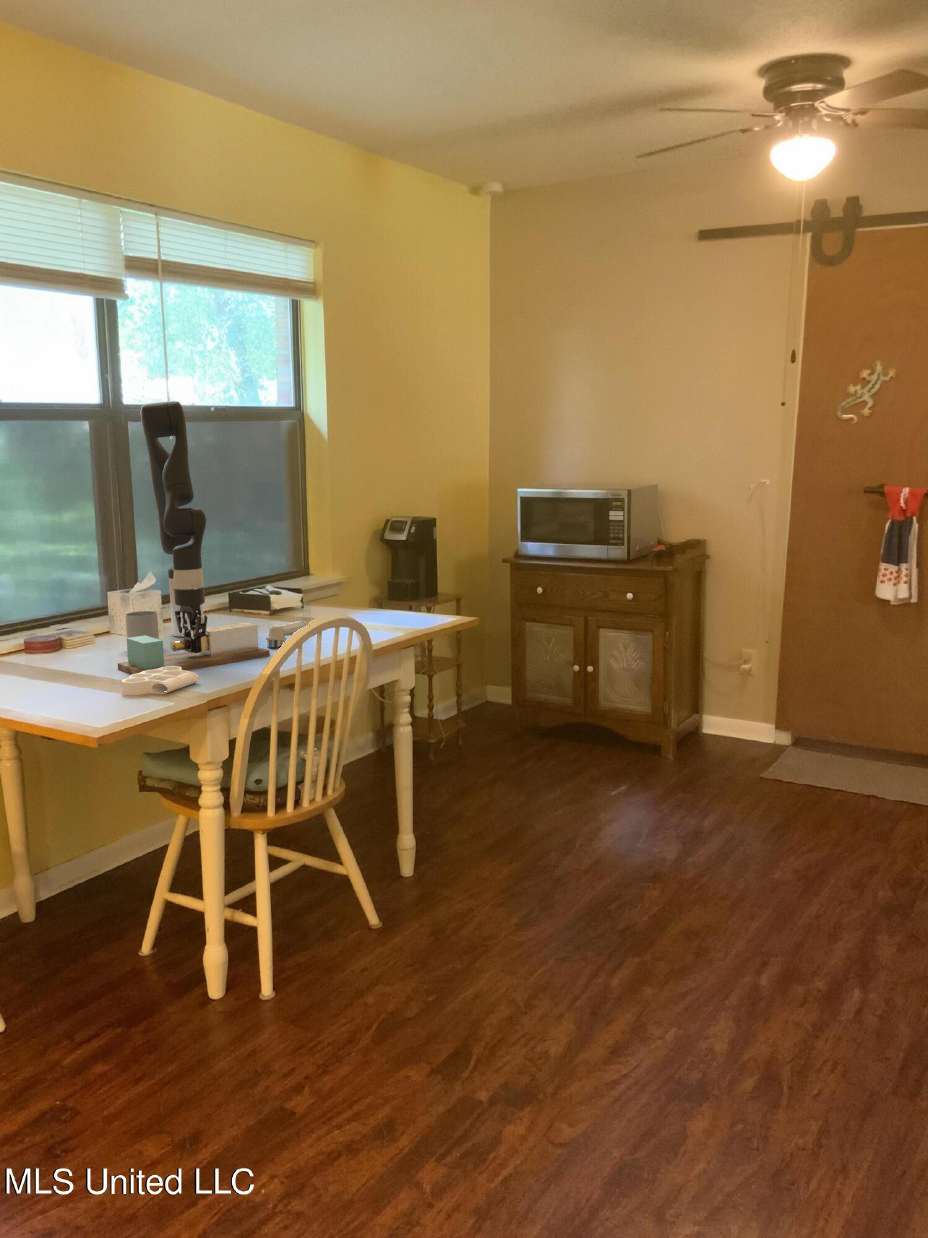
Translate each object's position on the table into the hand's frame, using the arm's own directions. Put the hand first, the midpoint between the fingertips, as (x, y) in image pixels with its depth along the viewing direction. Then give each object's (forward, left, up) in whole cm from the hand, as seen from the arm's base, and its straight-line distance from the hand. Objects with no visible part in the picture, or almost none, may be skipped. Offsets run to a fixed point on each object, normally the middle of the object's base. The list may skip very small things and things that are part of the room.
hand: (193, 651), depth 268 cm
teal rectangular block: (0, -13, -2) cm, 13 cm away
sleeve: (0, +11, -2) cm, 11 cm away
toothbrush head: (-8, +34, -4) cm, 35 cm away
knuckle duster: (+19, -18, -4) cm, 26 cm away
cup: (-27, -1, -3) cm, 27 cm away
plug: (0, +6, 0) cm, 6 cm away
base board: (0, +1, -3) cm, 3 cm away
